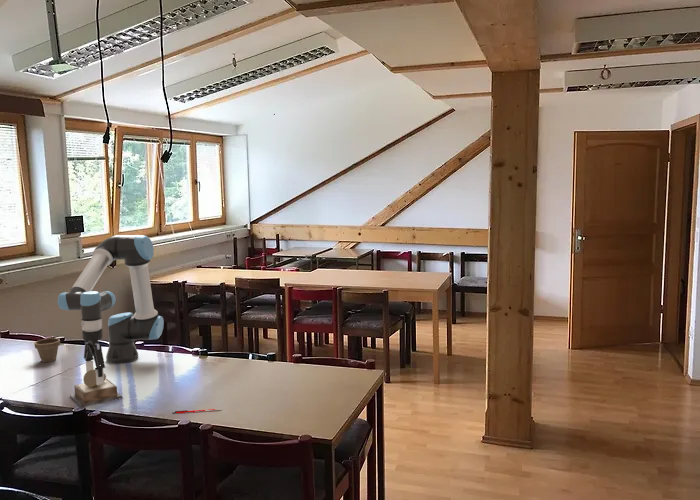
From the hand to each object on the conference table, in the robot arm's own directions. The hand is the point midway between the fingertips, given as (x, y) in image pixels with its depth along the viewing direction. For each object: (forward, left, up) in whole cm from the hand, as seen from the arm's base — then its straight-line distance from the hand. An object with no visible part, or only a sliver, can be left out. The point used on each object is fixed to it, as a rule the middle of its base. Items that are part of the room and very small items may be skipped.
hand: (95, 380), depth 245 cm
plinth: (0, 0, -7) cm, 7 cm away
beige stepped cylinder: (-1, -1, -2) cm, 3 cm away
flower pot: (+2, -71, -8) cm, 71 cm away
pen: (-25, +42, -8) cm, 50 cm away
